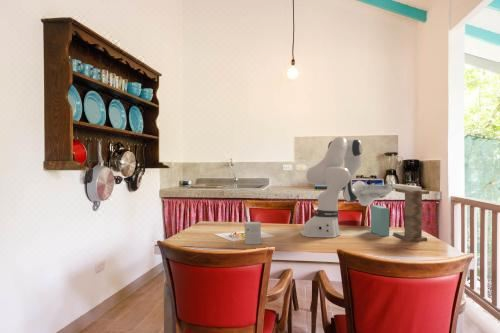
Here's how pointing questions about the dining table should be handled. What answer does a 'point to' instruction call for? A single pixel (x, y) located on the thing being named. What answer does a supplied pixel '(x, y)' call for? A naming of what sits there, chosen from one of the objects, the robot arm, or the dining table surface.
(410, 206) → the walnut stand
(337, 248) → the dining table surface
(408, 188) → the domino tile
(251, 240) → the small box
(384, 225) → the teal block
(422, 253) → the dining table surface
